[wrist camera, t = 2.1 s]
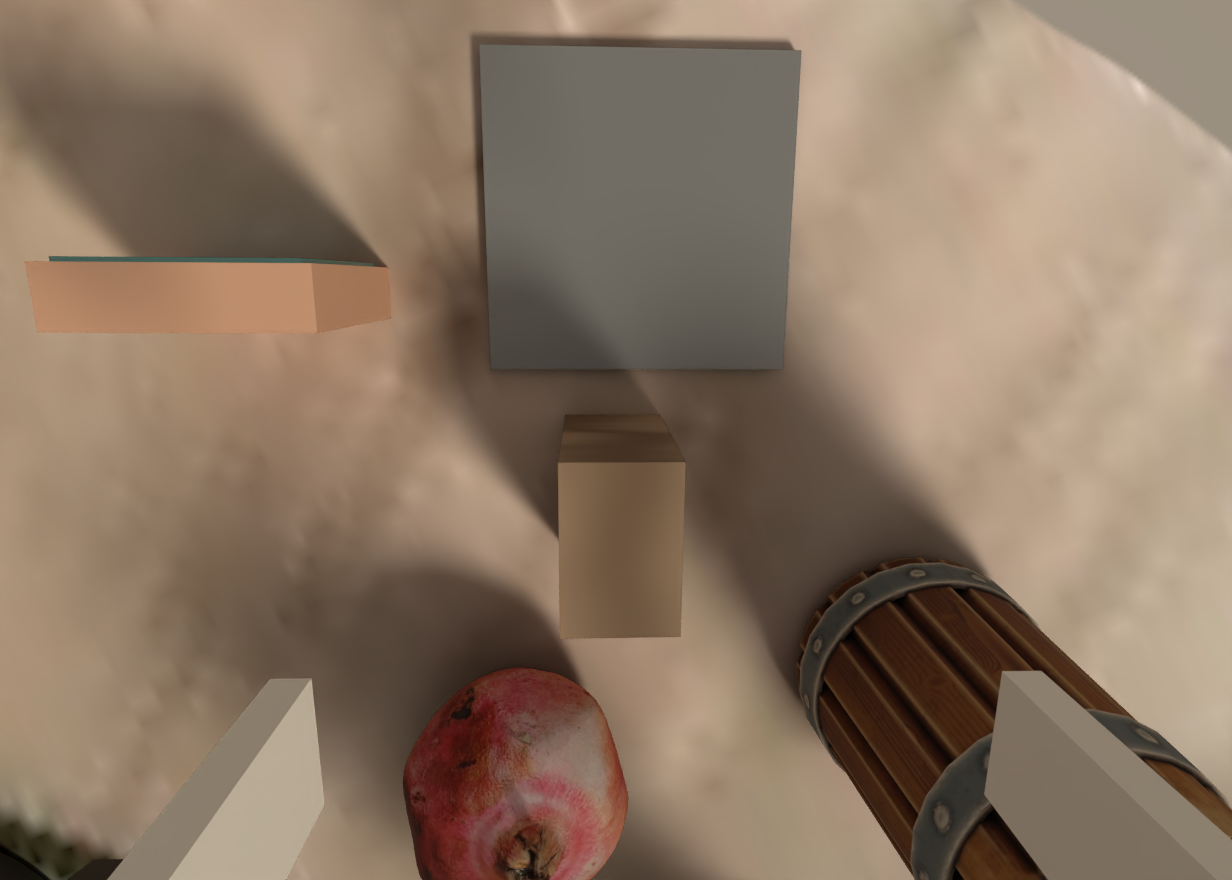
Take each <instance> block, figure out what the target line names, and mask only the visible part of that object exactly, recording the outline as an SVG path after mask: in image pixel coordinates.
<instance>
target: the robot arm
mask: <svg viewBox="0 0 1232 880" xmlns="http://www.w3.org/2000/svg"><path fill="white" fill-rule="evenodd" d="M984 795H985V796H986V797H987V799H988V800H989V801H990V803H991V804H992V805H993V807H994V808H995V809H996V811H997V812H998V813H999V815H1000V816H1001V817H1002V819H1003V820H1004V821H1005V823H1006V824H1007V825H1008V827H1009V828H1010V830H1011V831H1012V832H1013V834H1014V835H1015V836H1016V838H1017V839H1018V840H1019V842H1020V843H1021V844H1022V846H1023V847H1024V848H1025V850H1026V851H1027V852H1028V854H1029V855H1030V856H1031V858H1032V859H1033V860H1034V862H1035V863H1036V864H1037V866H1038V867H1039V868H1040V870H1041V871H1042V872H1043V874H1044V875H1045V876H1046V878H1047V879H1048V880H1232V838H1229V837H1228V836H1227V835H1226V834H1225V833H1224V832H1223V831H1221V830H1220V829H1219V828H1218V827H1217V826H1216V825H1215V824H1213V823H1212V822H1211V821H1210V820H1209V819H1208V818H1207V817H1206V816H1204V815H1203V814H1202V813H1201V812H1200V811H1199V810H1198V809H1197V808H1195V807H1194V806H1193V805H1192V804H1191V803H1190V802H1189V801H1188V800H1186V799H1185V798H1184V797H1183V796H1182V795H1181V794H1180V793H1179V792H1177V791H1176V790H1175V789H1174V788H1173V787H1172V786H1171V785H1169V784H1168V783H1167V782H1166V781H1165V780H1164V779H1163V778H1162V777H1160V776H1159V775H1158V774H1157V773H1156V772H1155V771H1154V770H1153V769H1151V768H1150V767H1149V766H1148V765H1147V764H1146V763H1145V762H1144V761H1142V760H1141V759H1140V758H1139V757H1138V756H1137V755H1136V754H1135V753H1133V752H1132V751H1131V750H1130V749H1129V748H1128V747H1127V746H1125V745H1124V744H1123V743H1122V742H1121V741H1120V740H1119V739H1118V738H1116V737H1115V736H1114V735H1113V734H1112V733H1111V732H1110V731H1109V730H1107V729H1106V728H1105V727H1104V726H1103V725H1102V724H1101V723H1100V722H1098V721H1097V720H1096V719H1095V718H1094V717H1093V716H1092V715H1091V714H1089V713H1088V712H1087V711H1086V710H1085V709H1084V708H1083V707H1081V706H1080V705H1079V704H1078V703H1077V702H1076V701H1075V700H1074V699H1072V698H1071V697H1070V696H1069V695H1068V694H1067V693H1066V692H1065V691H1063V690H1062V689H1061V688H1060V687H1059V686H1058V685H1057V684H1056V683H1054V682H1053V681H1052V680H1051V679H1050V678H1049V677H1048V676H1047V675H1045V674H1044V673H1043V672H1042V671H1002V675H1001V682H1000V689H999V696H998V703H997V710H996V717H995V724H994V730H993V737H992V744H991V751H990V758H989V765H988V772H987V779H986V785H985V792H984ZM324 805H325V804H324V794H323V784H322V775H321V765H320V755H319V746H318V736H317V726H316V717H315V707H314V698H313V688H312V678H294V679H269V681H268V682H267V683H266V684H265V686H264V687H263V688H262V689H261V690H260V692H259V693H258V694H257V695H256V697H255V698H254V699H253V700H252V702H251V703H250V704H249V705H248V707H247V708H246V709H245V710H244V711H243V713H242V714H241V715H240V716H239V718H238V719H237V720H236V721H235V723H234V724H233V725H232V726H231V727H230V729H229V730H228V731H227V732H226V734H225V735H224V736H223V737H222V739H221V740H220V741H219V742H218V744H217V745H216V746H215V747H214V748H213V750H212V751H211V752H210V753H209V755H208V756H207V757H206V758H205V760H204V761H203V762H202V763H201V765H200V766H199V767H198V768H197V769H196V771H195V772H194V773H193V774H192V776H191V777H190V778H189V779H188V781H187V782H186V783H185V784H184V785H183V787H182V788H181V789H180V790H179V792H178V793H177V794H176V795H175V797H174V798H173V799H172V800H171V802H170V803H169V804H168V805H167V806H166V808H165V809H164V810H163V811H162V813H161V814H160V815H159V816H158V818H157V819H156V820H155V821H154V823H153V824H152V825H151V826H150V827H149V829H148V830H147V831H146V832H145V834H144V835H143V836H142V837H141V839H140V840H139V841H138V842H137V844H136V845H135V846H134V847H133V848H132V850H131V851H130V852H129V853H128V855H127V856H126V857H125V858H124V859H112V860H93V861H92V862H90V863H89V864H88V865H86V866H85V867H84V868H82V869H81V870H80V871H78V872H77V873H75V874H74V875H73V876H71V877H70V878H69V879H67V880H286V879H287V877H288V875H289V873H290V871H291V869H292V867H293V865H294V863H295V861H296V859H297V857H298V855H299V853H300V851H301V849H302V847H303V846H304V844H305V842H306V840H307V838H308V836H309V834H310V832H311V830H312V828H313V826H314V824H315V822H316V820H317V818H318V816H319V814H320V812H321V810H322V809H323V807H324ZM0 880H43V879H42V878H41V877H40V876H38V875H37V874H36V873H34V872H33V871H32V870H30V869H29V868H27V867H26V866H24V865H23V864H21V863H20V862H18V861H16V860H14V859H13V858H11V857H9V856H7V855H5V854H3V853H1V852H0Z"/></svg>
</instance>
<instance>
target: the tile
mask: <svg viewBox="0 0 1232 880" xmlns="http://www.w3.org/2000/svg"><path fill="white" fill-rule="evenodd" d="M49 260H50V261H25V266H26V272H27V277H28V283H29V288H30V294H31V300H32V305H33V311H34V317H35V322H36V328H37V332H79V333H320V332H325V331H330V330H335V329H340V328H345V327H350V326H355V325H361V324H366V323H371V322H376V321H381V320H386V319H391V305H390V290H389V274H388V268H387V267H375V263H362V262H349V261H335V260H321V259H308V258H216V257H67V256H49Z"/></svg>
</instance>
